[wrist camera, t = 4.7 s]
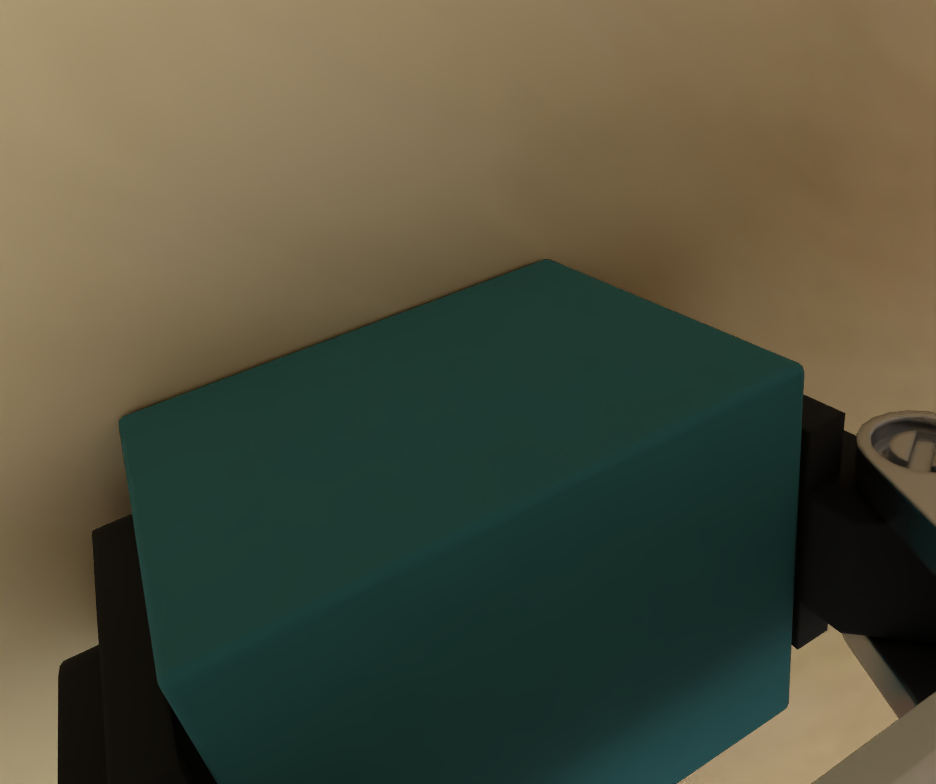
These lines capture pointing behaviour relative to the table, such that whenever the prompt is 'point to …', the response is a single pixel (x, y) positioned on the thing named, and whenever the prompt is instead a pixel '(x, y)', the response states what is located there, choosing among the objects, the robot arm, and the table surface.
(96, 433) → the table surface
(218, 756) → the teal pad
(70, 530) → the table surface
